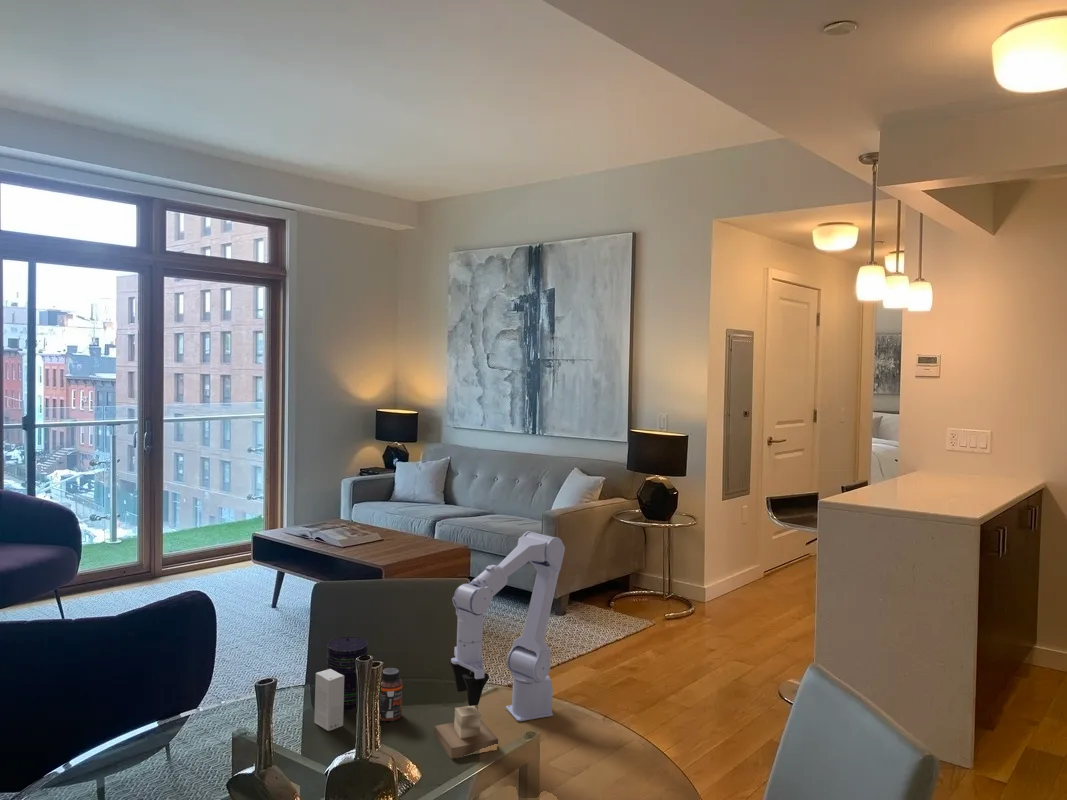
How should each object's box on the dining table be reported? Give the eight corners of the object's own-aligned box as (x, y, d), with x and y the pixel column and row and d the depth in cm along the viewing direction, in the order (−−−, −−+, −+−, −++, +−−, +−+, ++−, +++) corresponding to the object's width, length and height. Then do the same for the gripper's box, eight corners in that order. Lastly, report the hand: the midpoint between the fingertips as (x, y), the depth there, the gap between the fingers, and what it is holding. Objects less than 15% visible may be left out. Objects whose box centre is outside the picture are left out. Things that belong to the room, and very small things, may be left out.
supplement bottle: (396, 724, 186) (397, 677, 185) (372, 721, 187) (373, 674, 186) (405, 713, 192) (406, 667, 191) (382, 710, 193) (383, 664, 192)
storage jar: (366, 710, 192) (368, 650, 191) (324, 712, 190) (326, 652, 189) (366, 692, 202) (367, 635, 201) (326, 695, 200) (327, 637, 199)
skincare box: (343, 726, 184) (345, 675, 183) (327, 732, 181) (329, 680, 180) (329, 717, 188) (330, 667, 187) (313, 722, 185) (314, 672, 184)
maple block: (472, 726, 181) (473, 705, 181) (479, 735, 177) (480, 713, 177) (454, 729, 179) (455, 707, 179) (460, 738, 175) (461, 716, 175)
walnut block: (478, 730, 186) (479, 717, 186) (497, 752, 176) (498, 738, 176) (434, 738, 181) (434, 725, 181) (451, 761, 171) (451, 748, 171)
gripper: (442, 629, 182) (440, 687, 183) (463, 652, 169) (461, 714, 170) (471, 626, 185) (469, 682, 186) (494, 648, 172) (492, 709, 173)
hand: (467, 697), depth 178 cm, fingers open, 7 cm apart
